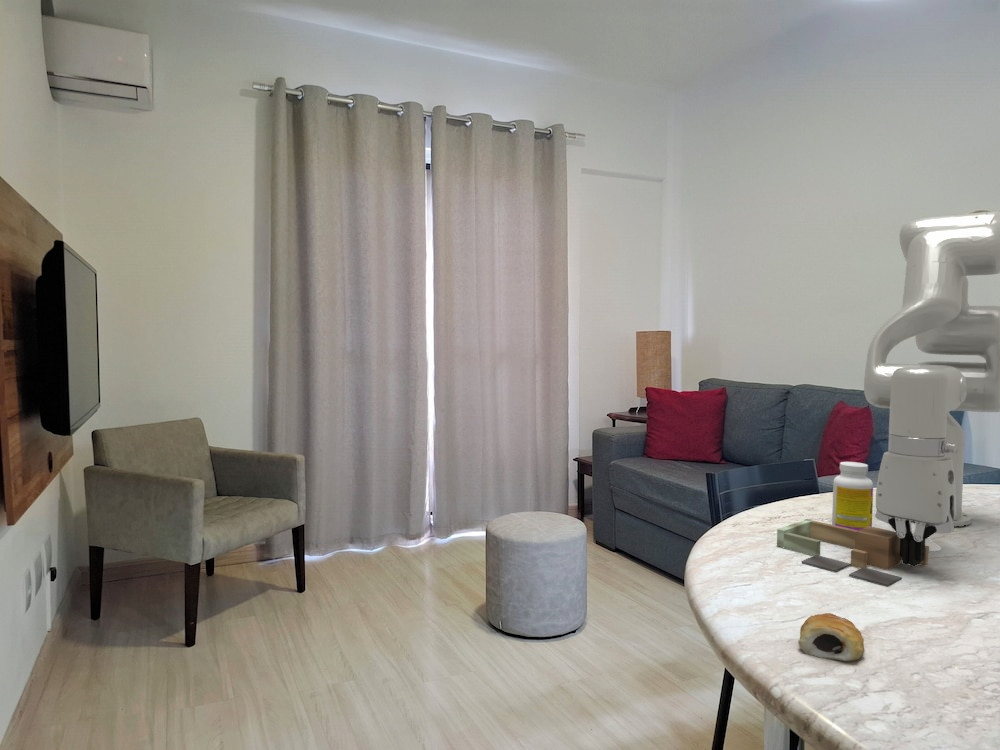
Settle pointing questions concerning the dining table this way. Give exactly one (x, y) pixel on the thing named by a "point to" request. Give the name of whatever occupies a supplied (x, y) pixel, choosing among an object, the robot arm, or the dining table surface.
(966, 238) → the robot arm
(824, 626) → the pastry
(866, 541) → the block
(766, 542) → the dining table surface
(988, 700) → the dining table surface
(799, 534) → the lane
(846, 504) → the supplement bottle
